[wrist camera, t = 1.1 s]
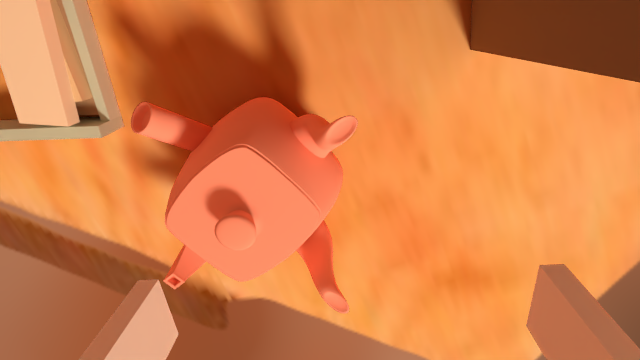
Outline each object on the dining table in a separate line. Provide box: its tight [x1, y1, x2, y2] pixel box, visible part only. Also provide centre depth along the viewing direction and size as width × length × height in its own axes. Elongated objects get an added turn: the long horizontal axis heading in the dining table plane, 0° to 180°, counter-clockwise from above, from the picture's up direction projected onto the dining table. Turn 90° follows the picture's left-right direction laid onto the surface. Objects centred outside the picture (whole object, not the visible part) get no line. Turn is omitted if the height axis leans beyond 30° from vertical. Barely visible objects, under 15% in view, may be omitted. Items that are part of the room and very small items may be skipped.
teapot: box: [131, 97, 358, 313], centre depth 34 cm, size 18×18×14 cm
